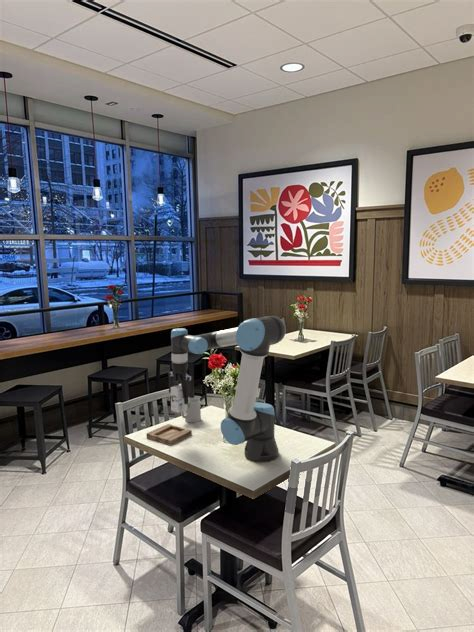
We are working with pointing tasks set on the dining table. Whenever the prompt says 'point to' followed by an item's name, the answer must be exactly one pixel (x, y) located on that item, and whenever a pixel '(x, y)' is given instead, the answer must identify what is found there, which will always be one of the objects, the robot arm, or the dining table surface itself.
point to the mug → (193, 411)
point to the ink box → (177, 399)
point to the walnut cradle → (169, 434)
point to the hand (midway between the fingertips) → (180, 408)
